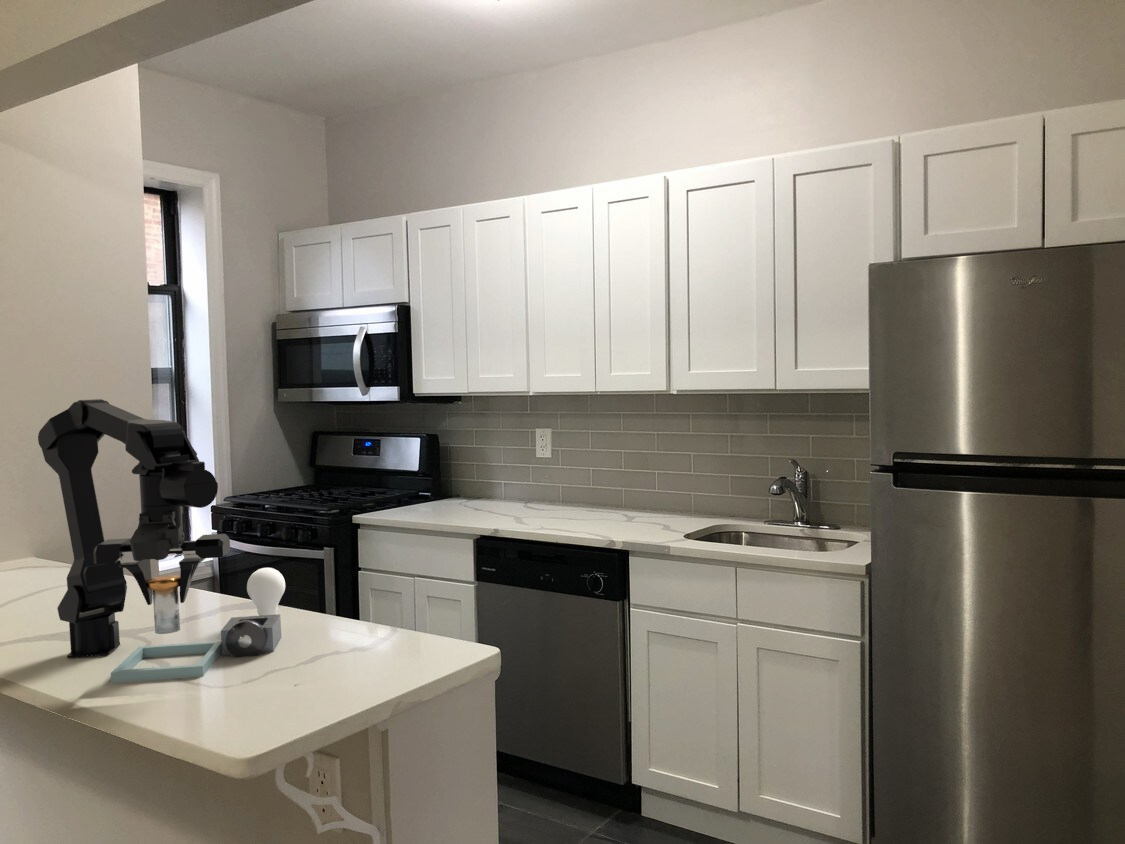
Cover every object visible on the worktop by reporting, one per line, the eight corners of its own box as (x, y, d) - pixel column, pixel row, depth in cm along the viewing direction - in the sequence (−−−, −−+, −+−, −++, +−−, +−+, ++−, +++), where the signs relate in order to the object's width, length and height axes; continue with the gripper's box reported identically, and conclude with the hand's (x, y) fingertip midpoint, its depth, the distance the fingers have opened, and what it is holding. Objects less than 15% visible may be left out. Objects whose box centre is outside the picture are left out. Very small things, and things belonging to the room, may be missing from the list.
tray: (111, 689, 134) (110, 672, 134) (139, 661, 147) (138, 646, 147) (203, 682, 136) (202, 666, 136) (223, 655, 149) (222, 640, 149)
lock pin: (146, 636, 138) (143, 583, 138) (156, 627, 143) (153, 576, 143) (179, 634, 139) (176, 581, 139) (188, 625, 144) (185, 574, 143)
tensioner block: (219, 665, 144) (217, 625, 144) (232, 646, 154) (231, 608, 153) (271, 661, 145) (269, 621, 145) (281, 643, 155) (279, 605, 155)
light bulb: (275, 633, 161) (272, 572, 160) (241, 632, 162) (238, 571, 162) (294, 623, 167) (291, 564, 167) (261, 622, 169) (258, 563, 168)
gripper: (76, 514, 131) (82, 621, 132) (211, 508, 133) (216, 613, 134) (104, 503, 142) (109, 602, 143) (228, 498, 144) (233, 594, 145)
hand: (166, 603), depth 141 cm, fingers closed on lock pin, 4 cm apart
